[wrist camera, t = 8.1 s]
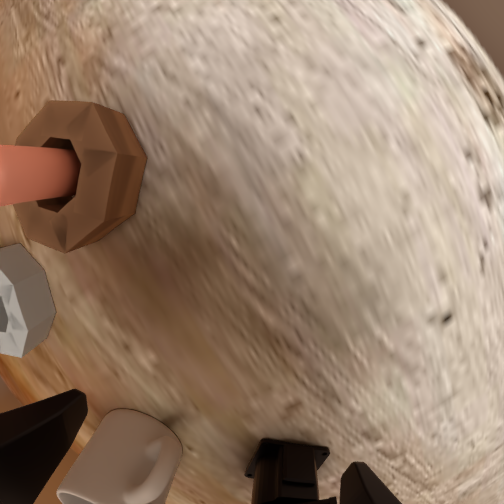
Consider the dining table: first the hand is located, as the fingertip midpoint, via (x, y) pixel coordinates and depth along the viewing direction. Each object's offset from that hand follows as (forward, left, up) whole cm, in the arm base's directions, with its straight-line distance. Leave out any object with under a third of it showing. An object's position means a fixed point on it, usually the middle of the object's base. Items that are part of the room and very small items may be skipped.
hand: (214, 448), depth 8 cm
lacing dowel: (+6, +13, -12) cm, 19 cm away
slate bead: (-6, +20, -12) cm, 25 cm away
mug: (-16, +5, -12) cm, 21 cm away
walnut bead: (+6, +13, -12) cm, 19 cm away
